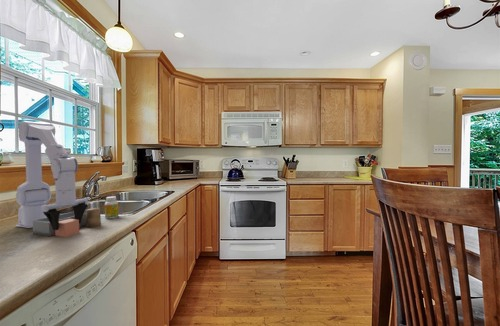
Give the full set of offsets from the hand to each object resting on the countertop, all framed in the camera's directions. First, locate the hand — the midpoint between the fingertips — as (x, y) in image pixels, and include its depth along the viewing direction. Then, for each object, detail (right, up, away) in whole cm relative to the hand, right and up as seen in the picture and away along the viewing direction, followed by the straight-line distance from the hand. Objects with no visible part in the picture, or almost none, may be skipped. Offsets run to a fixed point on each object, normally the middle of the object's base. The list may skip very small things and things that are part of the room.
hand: (67, 226), depth 83 cm
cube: (0, -3, 0) cm, 3 cm away
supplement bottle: (+3, -2, +22) cm, 23 cm away
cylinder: (+3, -3, +10) cm, 10 cm away
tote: (-6, -3, +8) cm, 11 cm away
